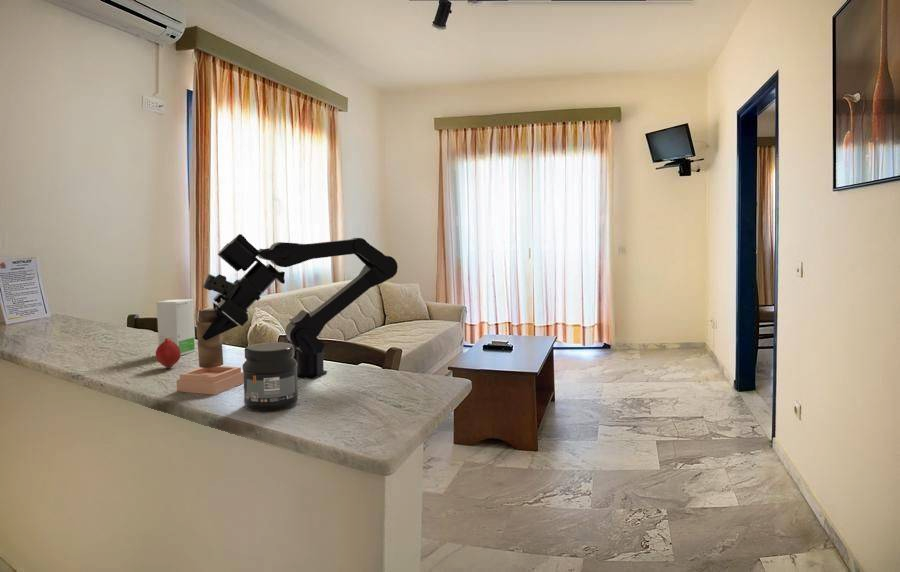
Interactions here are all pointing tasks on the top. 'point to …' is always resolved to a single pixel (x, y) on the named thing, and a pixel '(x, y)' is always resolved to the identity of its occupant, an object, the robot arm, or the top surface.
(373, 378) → the top surface
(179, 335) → the skincare box
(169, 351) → the onion
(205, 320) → the pepper mill
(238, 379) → the mill holder
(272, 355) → the supplement container
